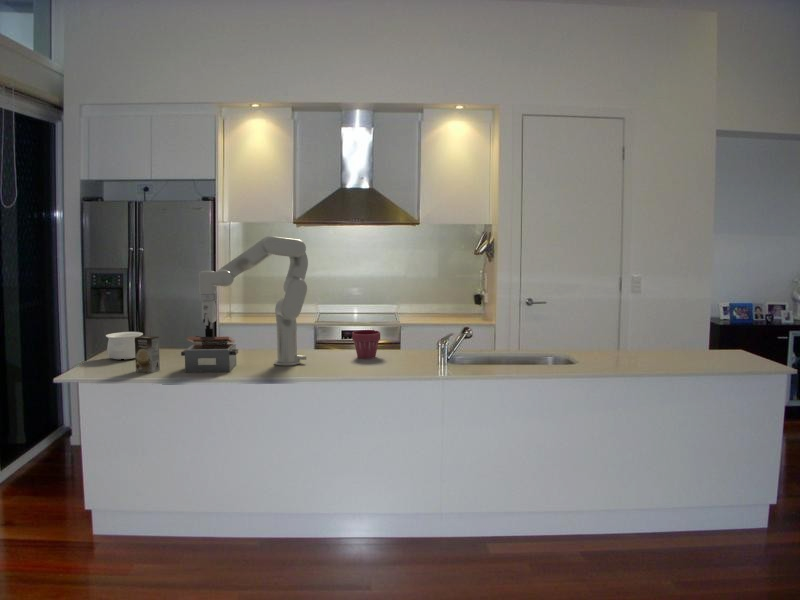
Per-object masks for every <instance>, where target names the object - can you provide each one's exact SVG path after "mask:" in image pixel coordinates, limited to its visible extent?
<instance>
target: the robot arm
mask: <svg viewBox="0 0 800 600" xmlns="http://www.w3.org/2000/svg"><path fill="white" fill-rule="evenodd" d="M306 251H307V246H306V244H305V242H304V241H303V240H301V239H299V238H298V239H297V238H288V237H280V236H275V235H267V236H265V237H263V238H261V239H260V240H259V241H257V242H256V243H254V244H252V245H251V246H250V247H249V248H248V249H247V250H245V251H244V252H242V253H240V254H239V255H237V256H236V257H235V258H233V259H232V260H230V261H229V262H228V263H226V264H224V266H222V267H221V268H219V269H218V270H217V271H214V270H202V271H199V272H198V288H199V302H201V322H202V323H204V329H205V330H204V331H205V334H204V335H205V336H204V337H214V323H215V322H216V321H217V320H218V316H217V303H216V302H217V300H218V299H217V298H218V297H217V287H224V288H225V287H229V286H231V285H232V284H233V282H234V281H235V278H237V277H238V276H239V275H241V274H243V273H244V272H247V271H249V270H252V269H254V268H256V267H257V266H259V265H260V264H261V263H262V262H264V261H265V260H266V259H268V258H270V257H271V256H272V255H273V256H274V255H275V256H280V257H288V258H289V266H288V271H287V275H286V277H285V281H284V283H283V292H285V294H284V297H283V298H280V299H279V300H278V301H277V302H276V304H275V308H274V311H275V312H274V313H275V323H276V350H277V351H276V352H277V353H276V355H277V358H276V360H274V361H273V364H274V365H276V366H287V367H289V366H296V365H300V364H301V361H302V360H304V361H306V360H307V355H300V354H299V352H298V330H297V329H298V328H297V325H298V324H297V318H299V316H300V315H301V312H302V310H303V309H302V308H303V305H304V303H305V300H306V296H307V292H308V285H307V283H306V281H305V279H306V275H307V271H308V266H309V259H308V255H307V252H306Z"/></svg>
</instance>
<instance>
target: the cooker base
mask: <svg viewBox="0 0 800 600" xmlns="http://www.w3.org/2000/svg"><path fill="white" fill-rule="evenodd" d="M238 354H239V349H238V348H237V344H235V343H228V344H202V343H193V344H192V345H190V346H189V347H187V348H186V349H184V350H183V351H181V352H180V356H182V357H183V356H184V367H185V368H184V370H185V373H230V372H231V371H232V370H233V369H234V368H236V366H237V355H238Z"/></svg>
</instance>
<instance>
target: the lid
mask: <svg viewBox="0 0 800 600" xmlns="http://www.w3.org/2000/svg"><path fill="white" fill-rule="evenodd" d="M186 340H187V341H188V342H191V343H193V344H235V342H236V340H235V339H234V338H232V337H230V336H213V337H206V336H199V335H198V336H186Z"/></svg>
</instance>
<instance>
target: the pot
mask: <svg viewBox="0 0 800 600" xmlns="http://www.w3.org/2000/svg"><path fill="white" fill-rule="evenodd" d="M142 335H144V333H143V332H140V331H121V332H113V333H108V334H105V337H106V338H108V341H107V348H106V351H107V354H108V357H109V358H110V359H111V360H121V359H124V360H130V359H135V337H139V336H142Z"/></svg>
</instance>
